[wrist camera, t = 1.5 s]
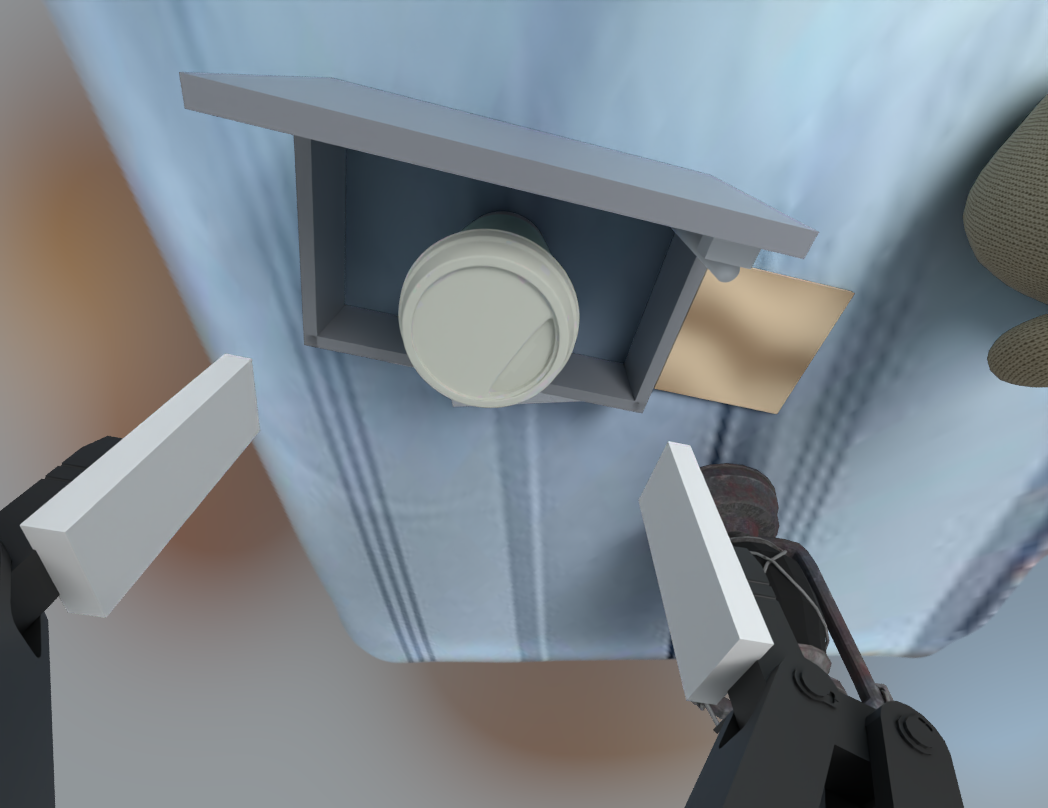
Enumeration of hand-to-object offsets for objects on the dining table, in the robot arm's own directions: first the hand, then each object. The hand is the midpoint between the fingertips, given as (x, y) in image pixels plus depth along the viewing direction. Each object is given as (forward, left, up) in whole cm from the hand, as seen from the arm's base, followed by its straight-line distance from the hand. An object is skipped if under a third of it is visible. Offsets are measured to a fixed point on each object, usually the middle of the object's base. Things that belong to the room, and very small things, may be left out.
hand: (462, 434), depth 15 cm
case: (0, 0, -19) cm, 19 cm away
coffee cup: (0, 0, -19) cm, 19 cm away
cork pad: (+2, +18, -19) cm, 26 cm away
